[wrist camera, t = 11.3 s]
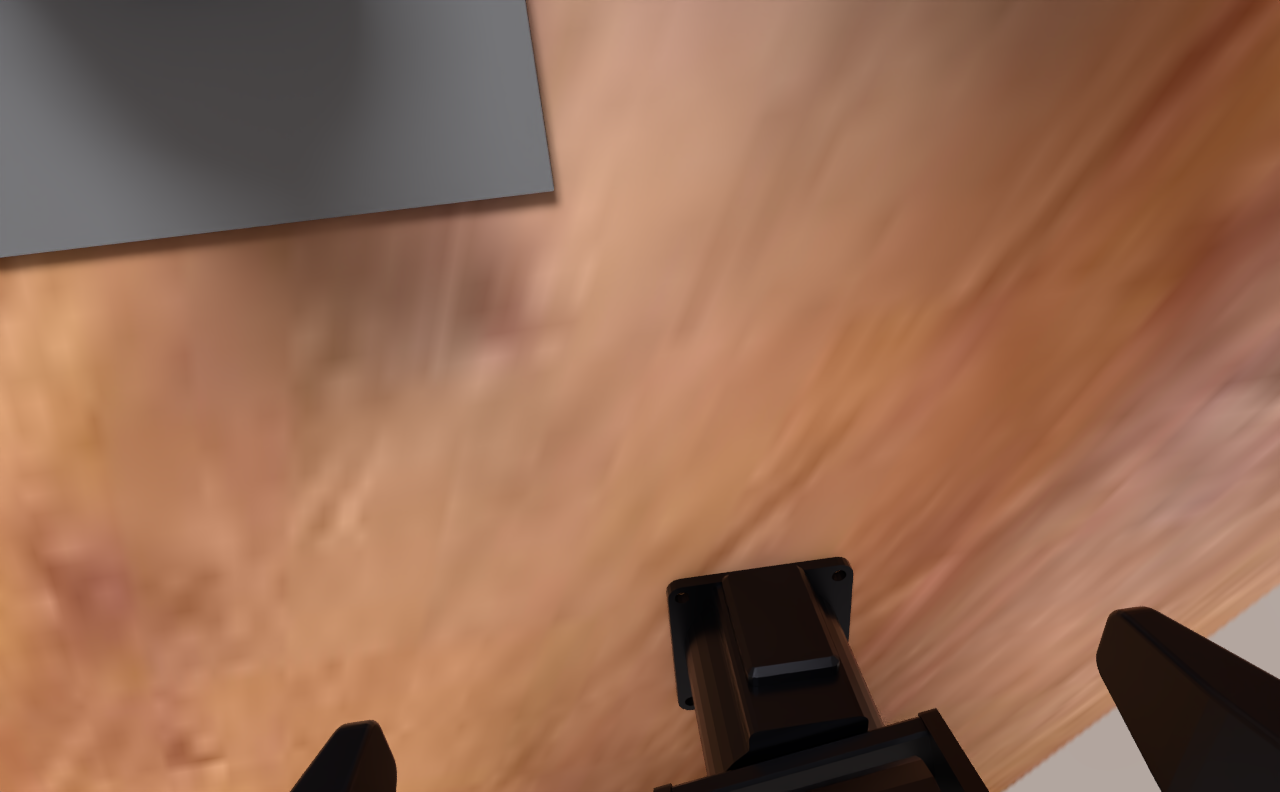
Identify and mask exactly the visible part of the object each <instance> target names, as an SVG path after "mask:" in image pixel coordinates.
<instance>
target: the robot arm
mask: <svg viewBox="0 0 1280 792" xmlns="http://www.w3.org/2000/svg"><path fill="white" fill-rule="evenodd" d="M839 570H840V571H839ZM836 571H839V572H837V573H835V572H836ZM852 585H853V570H852V568H851V566H850V564H849V562H848V561H847V560H846V559H845V558H842V557H833V558H826V559H819V560H812V561H804V562H797V563H790V564H783V565H776V566H769V567H762V568H755V569H748V570H741V571H733V572H726V573H719V574H712V575H705V576H698V577H691V578H684V579H678V580H675V581H673V582H671V583H670V584H669V585H668V587H667V591H666V593H667V602H668V612H669V622H670V631H671V641H672V650H673V660H674V670H675V679H676V689H677V697H678V703H679V706H680V707H681V708H683V709H686V710H694V709H695V712H696V717H697V723H698V728H699V733H700V739H701V744H702V749H703V755H704V760H705V765H706V771H707V777H703V778H700V779H696V780H693V781H689V782H686V783H682V784H679V785H675V786H672V784H671V783H670V784H667V785H663V786H660V787H656V788H654V790H653V792H989V791H988V789H987V787H986V786H985V784H984V783H983V781H982V779H981V778H980V776H979V775H978V773H977V772H976V770H975V768H974V767H973V765H972V764H971V762H970V761H969V759H968V757H967V756H966V754H965V753H964V751H963V750H962V748H961V746H960V745H959V743H958V742H957V740H956V738H955V737H954V735H953V734H952V732H951V731H950V729H949V727H948V726H947V724H946V723H945V721H944V720H943V718H942V716H941V715H940V713H939V712H938V710H937V709H936V708H935V709H931V710H928V711H924V712H921V713H918V717H915V718H912V719H908V720H905V721H901V722H898V723H894V724H891V725H887V726H884V724H883V722H882V720H881V717H880V715H879V713H878V710H877V708H876V706H875V704H874V701H873V699H872V697H871V694H870V692H869V690H868V687H867V685H866V683H865V680H864V678H863V676H862V673H861V671H860V669H859V667H858V664H857V662H856V660H855V657H854V655H853V653H852V650H851V648H850V646H849V643H848V640H849V626H850V613H851V599H852ZM679 593H685V594H682V595H677V594H679ZM1096 662H1097V667H1098V670H1099V673H1100V675H1101V677H1102V679H1103V681H1104V683H1105V685H1106V687H1107V689H1108V691H1109V693H1110V695H1111V697H1112V698H1113V700H1114V702H1115V704H1116V706H1117V708H1118V710H1119V712H1120V714H1121V716H1122V718H1123V720H1124V722H1125V723H1126V725H1127V727H1128V729H1129V731H1130V733H1131V735H1132V737H1133V739H1134V741H1135V743H1136V745H1137V747H1138V748H1139V750H1140V752H1141V754H1142V756H1143V758H1144V760H1145V762H1146V764H1147V765H1148V768H1149V770H1150V772H1151V773H1152V775H1153V777H1154V779H1155V781H1156V782H1157V784H1158V786H1159V788H1160V790H1161V792H1280V679H1278V678H1276V677H1274V676H1273V675H1271V674H1269V673H1267V672H1266V671H1264V670H1262V669H1260V668H1259V667H1257V666H1255V665H1253V664H1251V663H1250V662H1248V661H1246V660H1244V659H1242V658H1241V657H1239V656H1237V655H1235V654H1233V653H1232V652H1230V651H1228V650H1226V649H1224V648H1223V647H1221V646H1219V645H1217V644H1215V643H1214V642H1212V641H1210V640H1208V639H1207V638H1205V637H1203V636H1201V635H1199V634H1198V633H1196V632H1194V631H1192V630H1190V629H1189V628H1187V627H1185V626H1183V625H1181V624H1180V623H1178V622H1176V621H1174V620H1172V619H1171V618H1169V617H1167V616H1165V615H1164V614H1162V613H1160V612H1158V611H1156V610H1154V609H1152V608H1149V607H1132V608H1126V609H1119V610H1115V611H1113V612H1112V613H1111V614H1110V615H1109V617H1108V619H1107V622H1106V625H1105V628H1104V631H1103V634H1102V638H1101V641H1100V644H1099V647H1098V650H1097V654H1096ZM396 785H397V769H396V763H395V760H394V757H393V755H392V752H391V750H390V748H389V745H388V743H387V741H386V738H385V736H384V734H383V732H382V729H381V727H380V725H379V724H378V723H377V722H376V721H374V720H366V721H359V722H353V723H347V724H344V725H342V726H340V727H339V728H338V729H337V730H336V731H335V732H334V733H333V735H332V736H331V737H330V739H329V740H328V741H327V743H326V744H325V745H324V747H323V748H322V749H321V751H320V752H319V753H318V755H317V756H316V757H315V759H314V760H313V761H312V763H311V764H310V765H309V767H308V768H307V769H306V771H305V772H304V773H303V775H302V776H301V778H300V779H299V780H298V782H297V783H296V784H295V786H294V787H293V788H292V790H291V791H290V792H396Z"/></svg>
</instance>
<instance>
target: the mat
mask: <svg viewBox="0 0 1280 792" xmlns="http://www.w3.org/2000/svg"><path fill="white" fill-rule="evenodd" d="M549 191H554V184H553V177H552V170H551V164H550V157H549V151H548V144H547V138H546V131H545V124H544V118H543V111H542V105H541V98H540V92H539V85H538V79H537V72H536V65H535V59H534V52H533V46H532V39H531V33H530V26H529V19H528V13H527V6H526V0H1V1H0V258H1V257H9V256H17V255H26V254H34V253H42V252H51V251H59V250H67V249H76V248H84V247H92V246H101V245H109V244H117V243H125V242H134V241H142V240H150V239H159V238H167V237H175V236H184V235H192V234H200V233H209V232H217V231H225V230H234V229H242V228H250V227H258V226H267V225H275V224H283V223H292V222H300V221H308V220H317V219H325V218H333V217H342V216H350V215H358V214H367V213H375V212H383V211H391V210H400V209H408V208H416V207H425V206H433V205H441V204H450V203H458V202H466V201H475V200H483V199H491V198H500V197H508V196H516V195H524V194H533V193H541V192H549Z"/></svg>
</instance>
